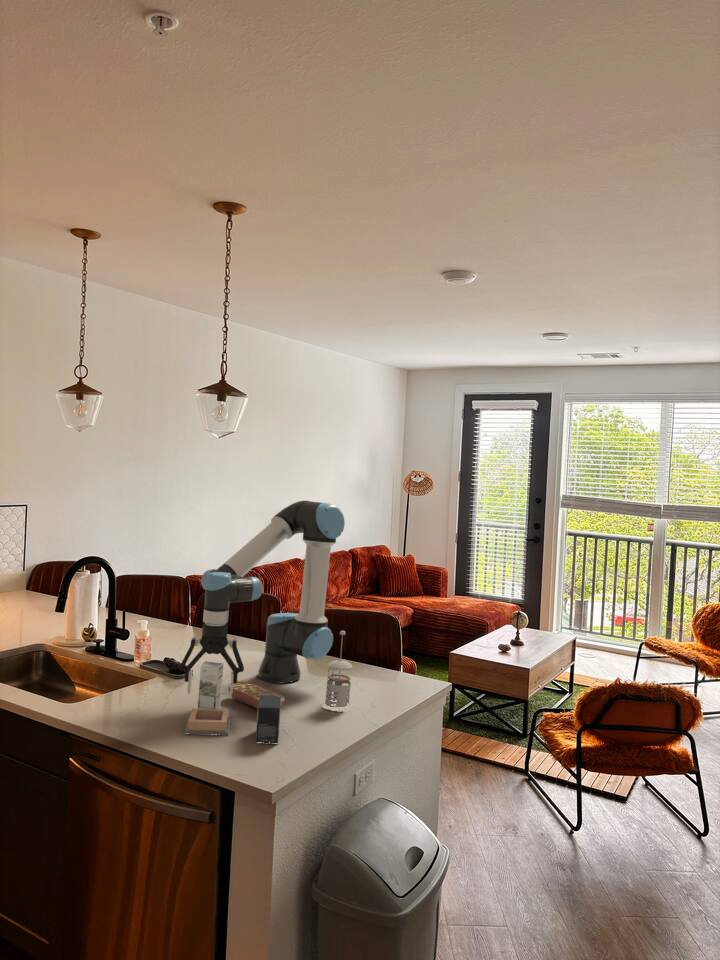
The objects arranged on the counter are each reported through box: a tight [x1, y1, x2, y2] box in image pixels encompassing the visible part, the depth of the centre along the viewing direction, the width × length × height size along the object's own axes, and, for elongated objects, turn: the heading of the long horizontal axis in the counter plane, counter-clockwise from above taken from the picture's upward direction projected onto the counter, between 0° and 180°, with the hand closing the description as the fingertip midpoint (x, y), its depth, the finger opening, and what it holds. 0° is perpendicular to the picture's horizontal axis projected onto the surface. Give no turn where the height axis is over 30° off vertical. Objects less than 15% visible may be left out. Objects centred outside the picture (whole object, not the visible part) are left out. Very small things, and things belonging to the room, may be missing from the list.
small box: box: [255, 695, 281, 744], centre depth 204 cm, size 11×6×10 cm, turn 5°
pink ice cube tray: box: [228, 680, 286, 710], centre depth 229 cm, size 23×10×5 cm, turn 46°
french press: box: [324, 630, 354, 707], centre depth 235 cm, size 10×12×25 cm
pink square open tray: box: [184, 707, 232, 736], centre depth 208 cm, size 12×12×4 cm
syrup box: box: [197, 660, 224, 709], centre depth 222 cm, size 6×6×14 cm
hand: (210, 693), depth 222 cm, fingers open, 12 cm apart
